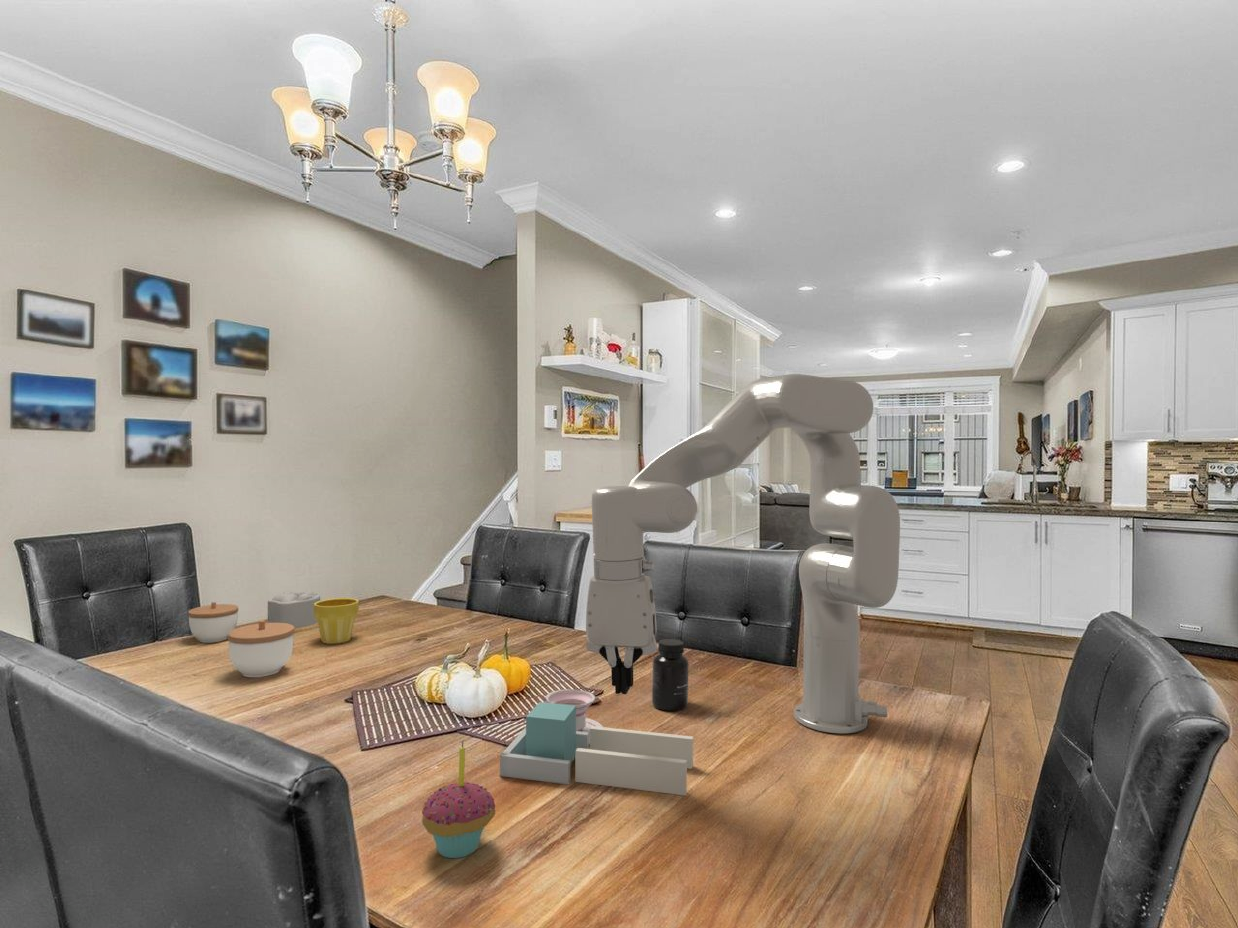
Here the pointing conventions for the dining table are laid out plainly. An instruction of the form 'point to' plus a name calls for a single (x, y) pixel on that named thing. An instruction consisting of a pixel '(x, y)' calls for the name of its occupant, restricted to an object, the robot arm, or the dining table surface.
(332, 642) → the plant pot
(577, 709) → the teacup
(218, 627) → the lidded jar
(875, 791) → the dining table surface
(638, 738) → the channel
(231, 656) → the lidded bowl
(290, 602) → the grey lumpy-topped box
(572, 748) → the block
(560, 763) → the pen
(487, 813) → the cupcake
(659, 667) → the supplement bottle
